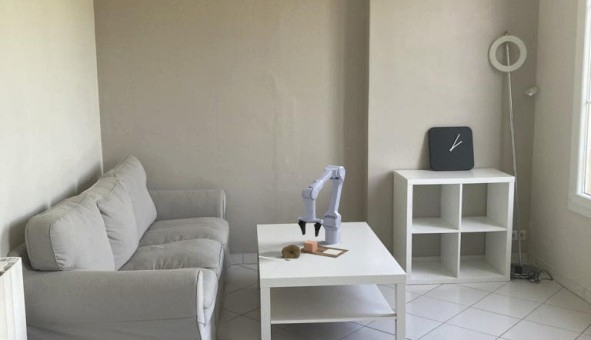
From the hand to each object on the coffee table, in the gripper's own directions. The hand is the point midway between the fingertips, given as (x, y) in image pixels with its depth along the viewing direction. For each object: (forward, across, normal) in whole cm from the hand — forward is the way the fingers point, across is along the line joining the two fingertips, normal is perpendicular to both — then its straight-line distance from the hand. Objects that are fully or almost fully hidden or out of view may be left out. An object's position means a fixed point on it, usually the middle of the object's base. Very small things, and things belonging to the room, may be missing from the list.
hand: (310, 235), depth 320 cm
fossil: (+10, -4, -14) cm, 18 cm away
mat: (+9, +12, +3) cm, 15 cm away
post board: (+9, +6, +3) cm, 11 cm away
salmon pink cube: (+8, 0, +1) cm, 8 cm away
